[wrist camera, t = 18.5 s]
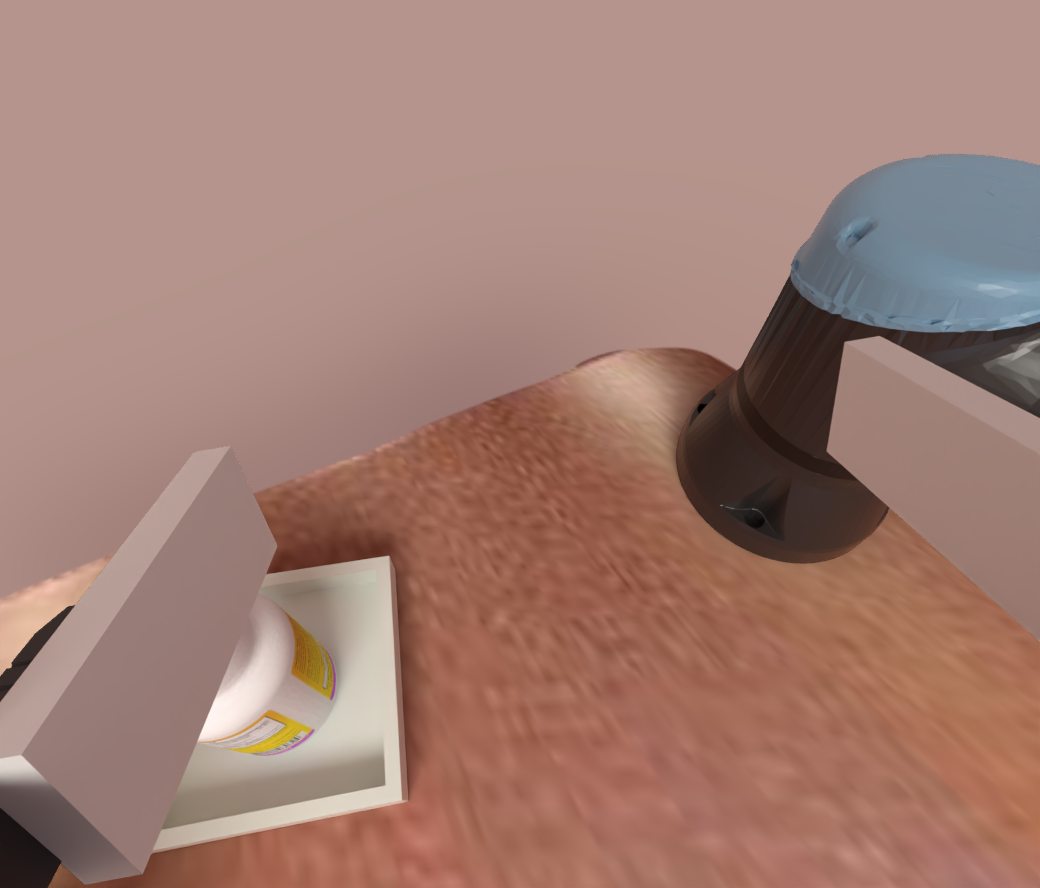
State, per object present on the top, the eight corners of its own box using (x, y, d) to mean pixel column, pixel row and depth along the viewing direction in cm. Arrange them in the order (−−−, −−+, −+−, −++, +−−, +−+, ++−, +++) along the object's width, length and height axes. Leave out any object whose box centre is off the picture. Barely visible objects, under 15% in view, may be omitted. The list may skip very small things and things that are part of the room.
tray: (395, 569, 39) (389, 555, 37) (408, 801, 31) (401, 800, 29) (185, 602, 37) (166, 589, 35) (148, 854, 30) (121, 856, 28)
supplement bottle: (277, 618, 36) (182, 535, 25) (363, 669, 35) (299, 604, 24) (199, 720, 33) (52, 674, 22) (289, 782, 31) (178, 765, 21)
